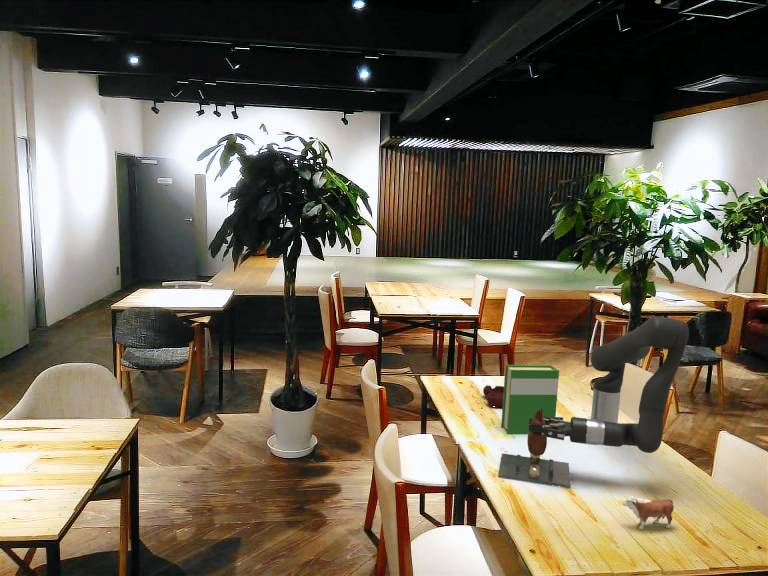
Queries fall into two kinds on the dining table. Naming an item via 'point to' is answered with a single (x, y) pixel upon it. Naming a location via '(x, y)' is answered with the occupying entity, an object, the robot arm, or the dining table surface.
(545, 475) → the metal mounting plate
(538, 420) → the wooden figurine
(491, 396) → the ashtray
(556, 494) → the dining table surface
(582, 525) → the dining table surface
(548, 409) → the hardback book
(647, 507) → the bull figurine
